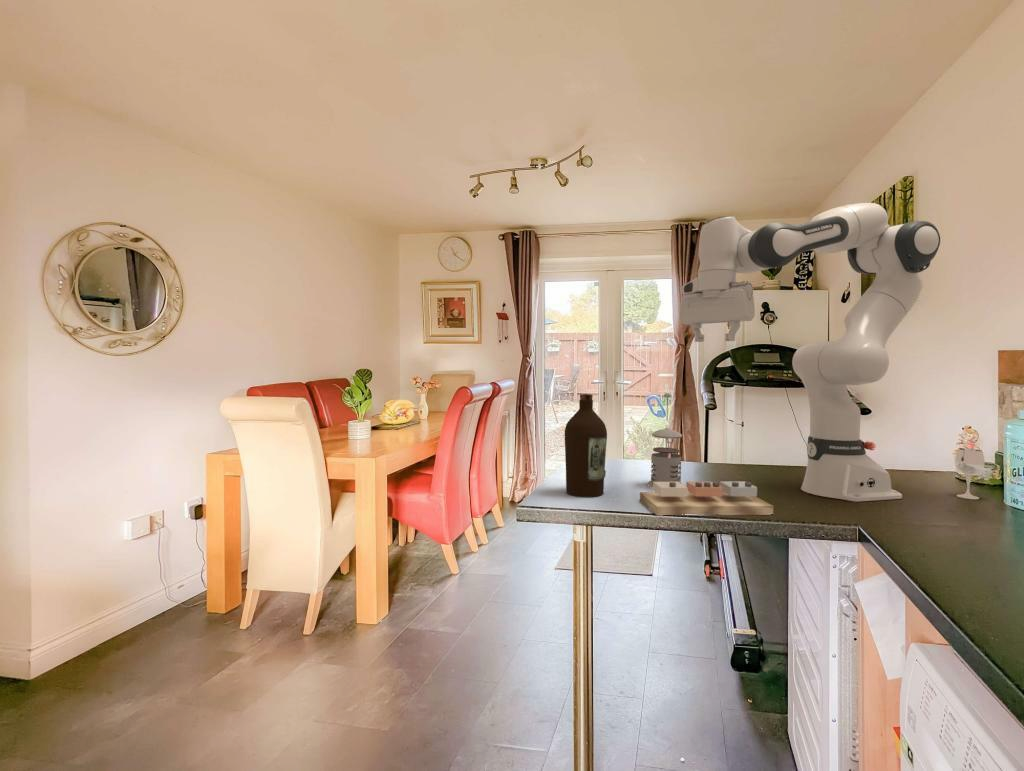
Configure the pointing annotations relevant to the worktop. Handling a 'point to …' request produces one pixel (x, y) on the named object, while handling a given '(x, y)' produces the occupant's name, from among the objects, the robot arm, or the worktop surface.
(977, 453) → the wineglass
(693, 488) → the tile three
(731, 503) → the button board
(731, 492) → the tile two
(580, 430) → the olive oil
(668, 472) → the french press
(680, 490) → the tile one
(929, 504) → the worktop surface
